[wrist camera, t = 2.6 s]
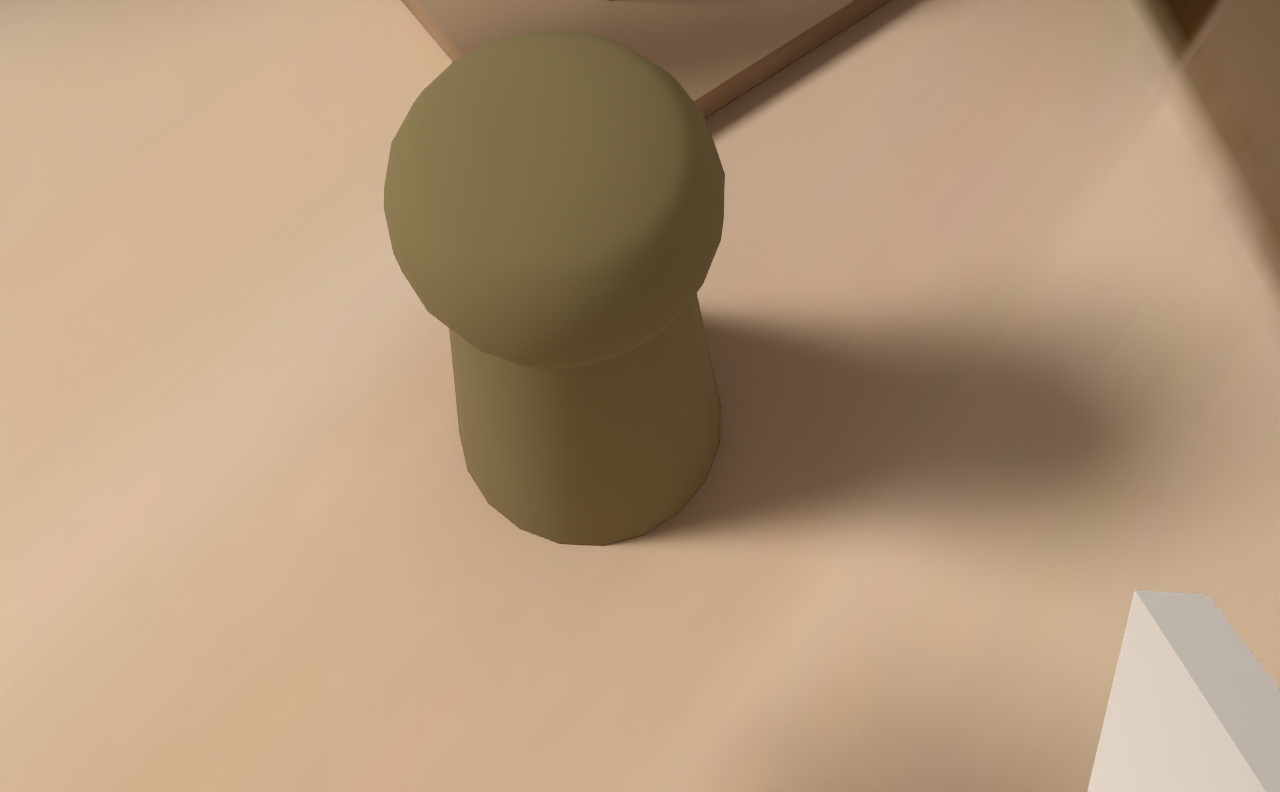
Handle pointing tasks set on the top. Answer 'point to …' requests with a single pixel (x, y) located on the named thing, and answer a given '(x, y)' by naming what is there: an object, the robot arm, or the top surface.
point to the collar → (661, 33)
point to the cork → (567, 276)
